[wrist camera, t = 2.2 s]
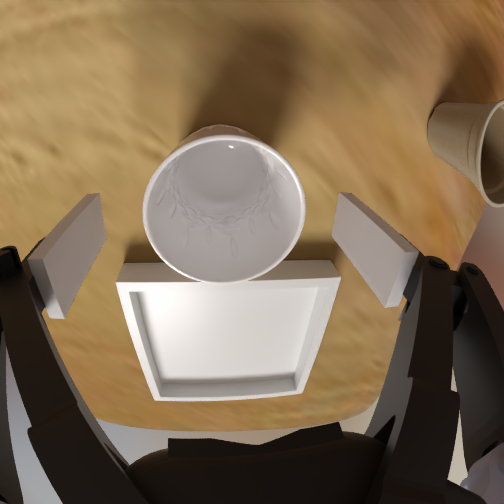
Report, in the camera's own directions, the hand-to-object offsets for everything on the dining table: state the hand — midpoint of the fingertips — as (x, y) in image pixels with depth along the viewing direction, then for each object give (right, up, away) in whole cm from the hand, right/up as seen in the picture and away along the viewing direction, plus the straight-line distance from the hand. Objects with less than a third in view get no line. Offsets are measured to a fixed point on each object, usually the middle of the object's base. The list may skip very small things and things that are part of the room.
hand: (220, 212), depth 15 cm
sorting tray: (-1, -11, +17) cm, 21 cm away
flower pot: (+21, +10, +7) cm, 25 cm away
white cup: (-1, +5, +7) cm, 9 cm away
